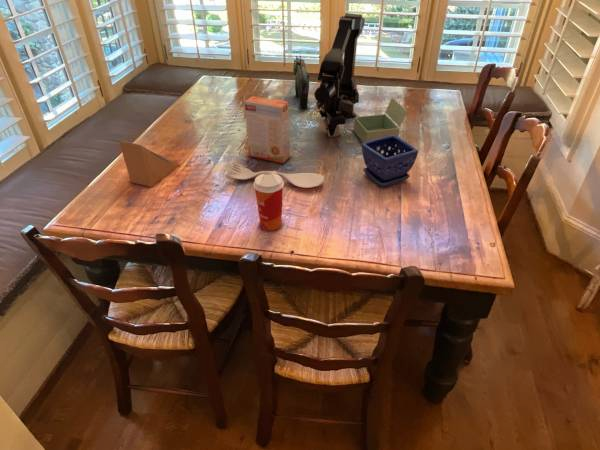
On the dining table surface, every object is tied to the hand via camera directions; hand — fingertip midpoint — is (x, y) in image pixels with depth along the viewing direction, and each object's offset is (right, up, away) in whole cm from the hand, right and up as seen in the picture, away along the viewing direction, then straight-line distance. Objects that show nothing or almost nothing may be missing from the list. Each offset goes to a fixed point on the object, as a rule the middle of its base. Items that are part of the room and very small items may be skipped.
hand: (329, 132), depth 170 cm
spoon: (-20, -22, -26) cm, 39 cm away
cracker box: (-23, -12, -12) cm, 28 cm away
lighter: (0, -1, +1) cm, 2 cm away
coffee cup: (-20, -36, -45) cm, 61 cm away
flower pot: (+17, -21, -24) cm, 36 cm away
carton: (+18, -2, 0) cm, 18 cm away
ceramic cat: (-11, +20, +29) cm, 37 cm away
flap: (+25, +7, -4) cm, 26 cm away
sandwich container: (-61, -19, -21) cm, 67 cm away
